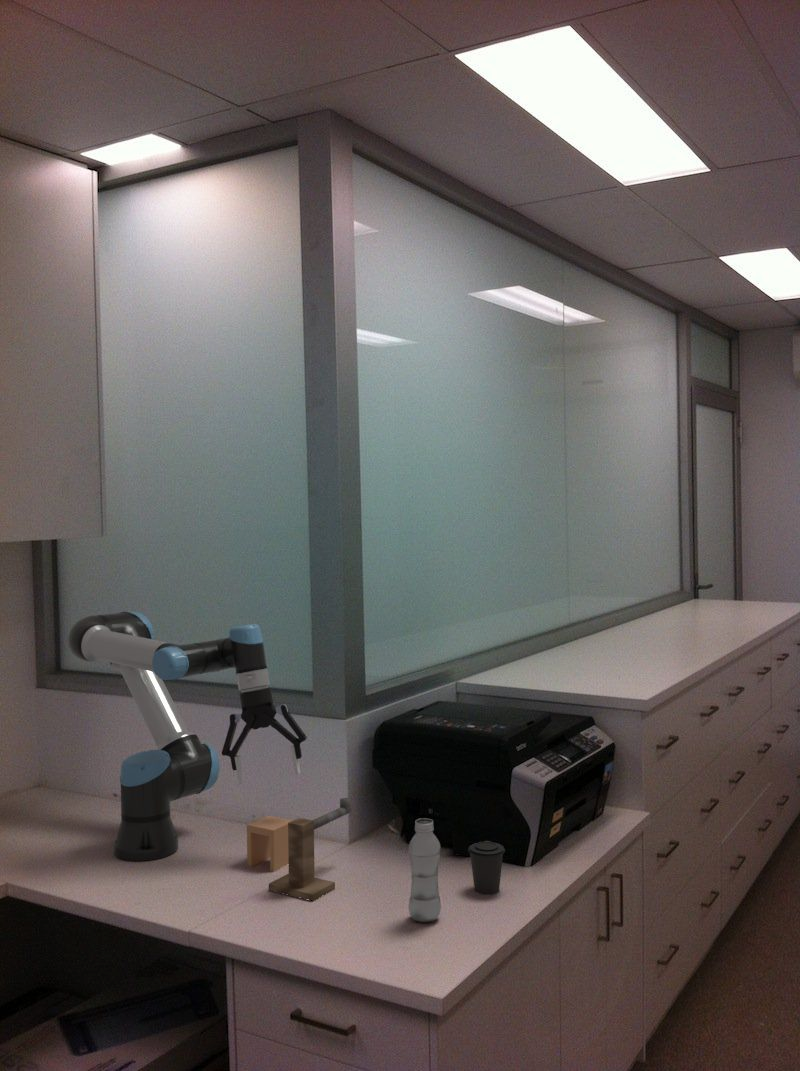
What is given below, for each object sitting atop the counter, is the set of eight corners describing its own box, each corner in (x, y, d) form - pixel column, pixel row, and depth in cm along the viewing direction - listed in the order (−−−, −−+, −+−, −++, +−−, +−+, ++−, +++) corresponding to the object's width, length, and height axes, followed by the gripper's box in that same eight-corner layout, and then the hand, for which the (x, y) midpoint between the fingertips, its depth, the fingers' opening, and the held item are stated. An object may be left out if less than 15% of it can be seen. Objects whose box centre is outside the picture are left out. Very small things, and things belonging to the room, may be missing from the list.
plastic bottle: (401, 919, 201) (400, 821, 200) (425, 909, 206) (424, 814, 205) (424, 929, 196) (423, 828, 196) (448, 918, 201) (447, 820, 200)
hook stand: (268, 890, 217) (267, 820, 216) (327, 859, 236) (327, 794, 235) (313, 901, 210) (312, 829, 210) (370, 868, 229) (369, 801, 229)
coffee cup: (495, 880, 221) (494, 836, 221) (512, 893, 214) (511, 847, 213) (462, 886, 218) (461, 841, 218) (478, 899, 211) (477, 852, 210)
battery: (479, 848, 242) (479, 807, 242) (469, 857, 236) (469, 815, 236) (462, 846, 244) (462, 805, 244) (452, 855, 238) (452, 813, 237)
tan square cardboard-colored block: (247, 865, 232) (246, 824, 232) (269, 855, 239) (268, 815, 239) (274, 871, 228) (273, 830, 228) (295, 861, 235) (295, 820, 234)
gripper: (199, 699, 234) (214, 790, 232) (303, 680, 233) (318, 771, 231) (208, 697, 242) (222, 784, 240) (308, 679, 241) (323, 766, 239)
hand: (269, 778), depth 235 cm, fingers open, 13 cm apart
